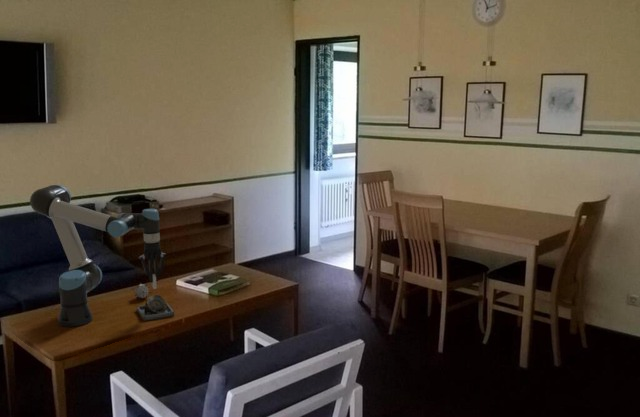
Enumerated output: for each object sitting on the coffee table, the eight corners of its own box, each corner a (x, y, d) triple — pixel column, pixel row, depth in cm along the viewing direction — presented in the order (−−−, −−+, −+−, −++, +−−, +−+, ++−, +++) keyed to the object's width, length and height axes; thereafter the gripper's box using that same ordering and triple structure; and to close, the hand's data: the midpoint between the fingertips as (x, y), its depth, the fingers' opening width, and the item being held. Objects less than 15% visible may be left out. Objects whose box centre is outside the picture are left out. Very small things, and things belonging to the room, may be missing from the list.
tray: (143, 321, 288) (143, 316, 288) (136, 310, 302) (136, 306, 301) (174, 315, 295) (174, 311, 294) (166, 305, 308) (166, 301, 308)
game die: (146, 304, 321) (157, 290, 319) (134, 303, 314) (145, 288, 312) (138, 293, 325) (149, 279, 324) (126, 291, 318) (137, 277, 316)
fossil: (161, 315, 291) (150, 297, 290) (146, 322, 294) (136, 304, 293) (171, 307, 301) (161, 289, 301) (156, 313, 304) (147, 296, 303)
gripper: (139, 244, 285) (142, 292, 289) (167, 241, 291) (169, 288, 295) (136, 241, 291) (139, 287, 296) (163, 238, 297) (165, 284, 302)
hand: (154, 288), depth 296 cm, fingers closed
